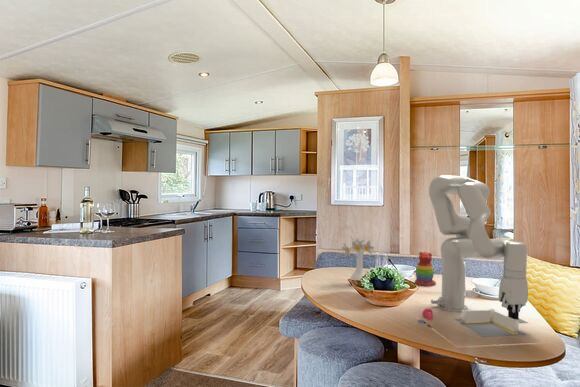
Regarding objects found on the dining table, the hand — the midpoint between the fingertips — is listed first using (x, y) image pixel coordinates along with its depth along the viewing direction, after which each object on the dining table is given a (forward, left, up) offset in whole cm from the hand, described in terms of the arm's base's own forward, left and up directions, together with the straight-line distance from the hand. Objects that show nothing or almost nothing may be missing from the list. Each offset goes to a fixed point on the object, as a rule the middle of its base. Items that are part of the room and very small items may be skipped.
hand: (513, 321), depth 146 cm
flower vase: (-39, +66, -4) cm, 77 cm away
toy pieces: (-28, +11, -4) cm, 30 cm away
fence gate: (-2, +1, -2) cm, 4 cm away
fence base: (-3, +3, -3) cm, 5 cm away
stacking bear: (-1, +66, -4) cm, 66 cm away
